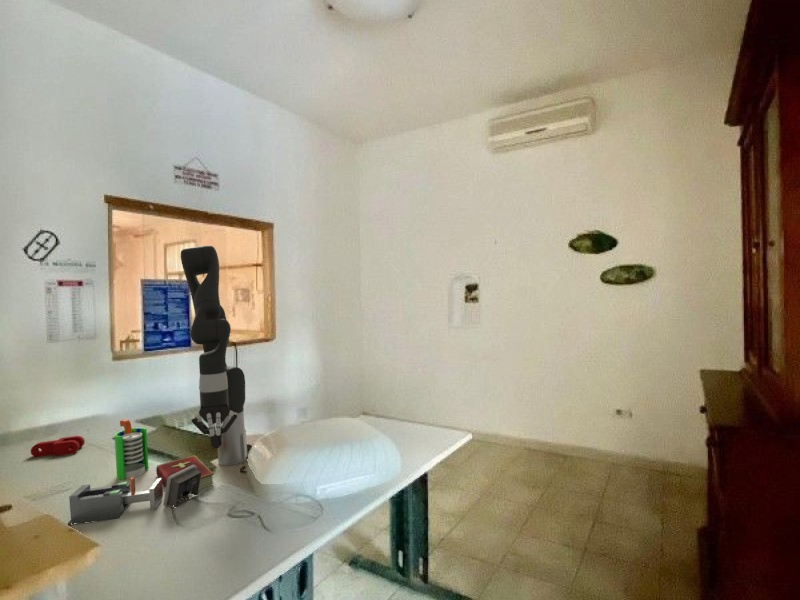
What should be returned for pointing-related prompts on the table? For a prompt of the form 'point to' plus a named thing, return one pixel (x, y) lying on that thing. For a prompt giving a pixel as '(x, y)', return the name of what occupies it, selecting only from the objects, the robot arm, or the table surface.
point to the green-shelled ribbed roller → (131, 451)
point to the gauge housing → (98, 503)
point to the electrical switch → (182, 486)
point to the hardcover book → (178, 465)
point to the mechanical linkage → (58, 446)
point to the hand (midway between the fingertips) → (216, 447)
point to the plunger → (145, 494)
